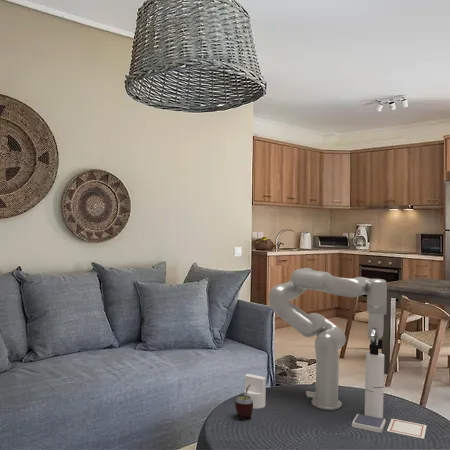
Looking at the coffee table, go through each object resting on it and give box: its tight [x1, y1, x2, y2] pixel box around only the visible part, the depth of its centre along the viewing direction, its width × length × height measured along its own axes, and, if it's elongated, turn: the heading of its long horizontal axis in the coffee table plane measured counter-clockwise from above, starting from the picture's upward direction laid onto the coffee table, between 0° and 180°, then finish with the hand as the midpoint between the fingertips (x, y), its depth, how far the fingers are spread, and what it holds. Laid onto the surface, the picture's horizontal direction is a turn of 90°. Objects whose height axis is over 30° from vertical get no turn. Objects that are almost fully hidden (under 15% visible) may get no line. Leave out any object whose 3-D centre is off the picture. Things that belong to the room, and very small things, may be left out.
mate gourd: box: [234, 385, 254, 421], centre depth 193 cm, size 8×8×15 cm
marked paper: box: [386, 418, 427, 440], centre depth 186 cm, size 13×13×1 cm
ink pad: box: [351, 413, 387, 434], centre depth 189 cm, size 11×10×2 cm
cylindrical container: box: [364, 351, 385, 419], centre depth 198 cm, size 7×7×25 cm
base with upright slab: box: [244, 373, 267, 410], centre depth 208 cm, size 9×9×12 cm
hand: (376, 351), depth 198 cm, fingers open, 9 cm apart
